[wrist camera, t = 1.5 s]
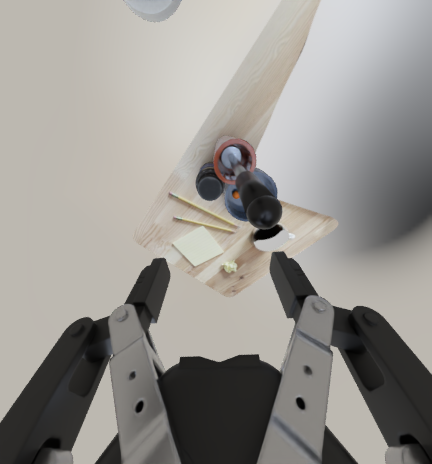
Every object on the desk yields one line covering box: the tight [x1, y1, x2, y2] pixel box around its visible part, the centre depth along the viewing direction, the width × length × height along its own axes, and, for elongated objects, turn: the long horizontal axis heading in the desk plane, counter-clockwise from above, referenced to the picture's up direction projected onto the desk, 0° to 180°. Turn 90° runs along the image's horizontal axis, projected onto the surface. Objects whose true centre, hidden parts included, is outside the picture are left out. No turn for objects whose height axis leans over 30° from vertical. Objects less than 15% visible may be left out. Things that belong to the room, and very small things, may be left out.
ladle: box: [221, 145, 282, 229], centre depth 15 cm, size 3×3×20 cm
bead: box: [233, 191, 239, 199], centre depth 39 cm, size 2×2×2 cm
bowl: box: [224, 168, 277, 221], centre depth 38 cm, size 12×12×5 cm
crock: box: [213, 135, 256, 185], centre depth 27 cm, size 5×5×20 cm
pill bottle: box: [196, 162, 225, 201], centre depth 34 cm, size 6×6×11 cm
